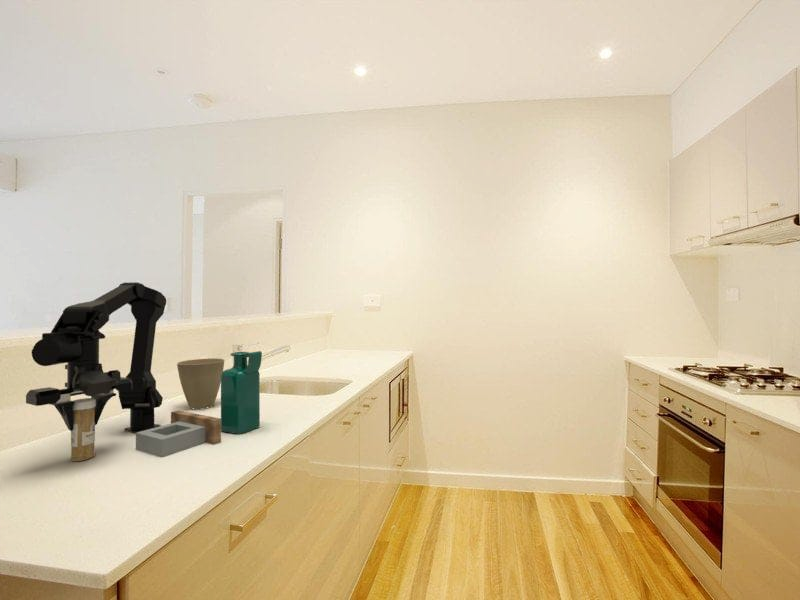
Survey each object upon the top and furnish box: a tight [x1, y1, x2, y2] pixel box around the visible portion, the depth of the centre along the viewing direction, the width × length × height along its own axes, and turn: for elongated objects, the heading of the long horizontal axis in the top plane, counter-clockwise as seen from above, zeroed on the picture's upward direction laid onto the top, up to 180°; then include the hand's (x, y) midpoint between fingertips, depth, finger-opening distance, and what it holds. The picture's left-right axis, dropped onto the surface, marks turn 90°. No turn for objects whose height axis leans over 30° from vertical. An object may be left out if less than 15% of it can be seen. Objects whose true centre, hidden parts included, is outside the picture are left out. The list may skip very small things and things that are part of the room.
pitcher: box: [220, 350, 263, 435], centre depth 113 cm, size 10×8×22 cm
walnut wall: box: [170, 410, 222, 445], centre depth 105 cm, size 18×2×6 cm, turn 62°
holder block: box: [135, 421, 206, 458], centre depth 99 cm, size 11×11×4 cm
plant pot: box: [176, 357, 225, 410], centre depth 138 cm, size 15×15×16 cm
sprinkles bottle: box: [69, 397, 96, 462], centre depth 92 cm, size 5×5×14 cm
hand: (83, 427), depth 92 cm, fingers closed on sprinkles bottle, 4 cm apart
